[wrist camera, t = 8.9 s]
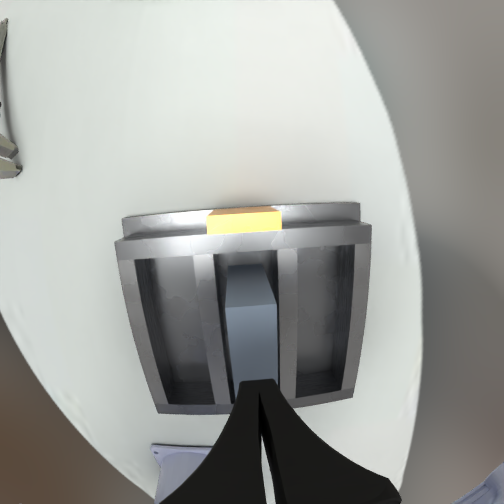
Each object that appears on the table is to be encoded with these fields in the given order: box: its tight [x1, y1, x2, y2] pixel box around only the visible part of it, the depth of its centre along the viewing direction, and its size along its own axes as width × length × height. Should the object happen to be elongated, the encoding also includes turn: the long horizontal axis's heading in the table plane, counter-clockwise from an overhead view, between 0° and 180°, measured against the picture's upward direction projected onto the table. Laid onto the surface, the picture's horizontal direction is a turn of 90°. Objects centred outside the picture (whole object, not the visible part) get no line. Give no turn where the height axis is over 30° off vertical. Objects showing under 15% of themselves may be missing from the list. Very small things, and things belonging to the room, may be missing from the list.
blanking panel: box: [225, 263, 278, 436], centre depth 14 cm, size 8×2×6 cm, turn 3°
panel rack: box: [114, 203, 372, 415], centre depth 16 cm, size 14×15×5 cm
